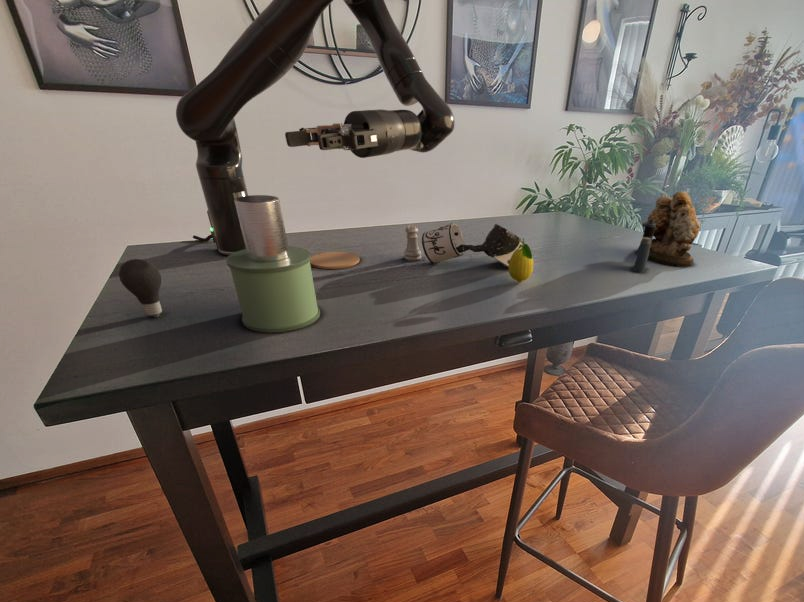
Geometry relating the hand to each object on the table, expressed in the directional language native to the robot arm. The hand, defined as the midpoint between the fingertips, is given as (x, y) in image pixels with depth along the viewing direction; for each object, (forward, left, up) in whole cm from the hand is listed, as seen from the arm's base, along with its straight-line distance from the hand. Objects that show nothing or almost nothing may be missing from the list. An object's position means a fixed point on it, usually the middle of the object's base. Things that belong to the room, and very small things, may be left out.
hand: (303, 141), depth 72 cm
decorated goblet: (+12, +36, -28) cm, 47 cm away
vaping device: (+49, +58, -28) cm, 81 cm away
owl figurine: (+52, +74, -28) cm, 95 cm away
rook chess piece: (-2, +31, -28) cm, 42 cm away
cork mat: (-16, +18, -27) cm, 37 cm away
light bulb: (-18, -23, -28) cm, 40 cm away
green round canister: (0, -11, -27) cm, 30 cm away
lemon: (+28, +31, -28) cm, 50 cm away
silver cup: (0, -11, -16) cm, 20 cm away
